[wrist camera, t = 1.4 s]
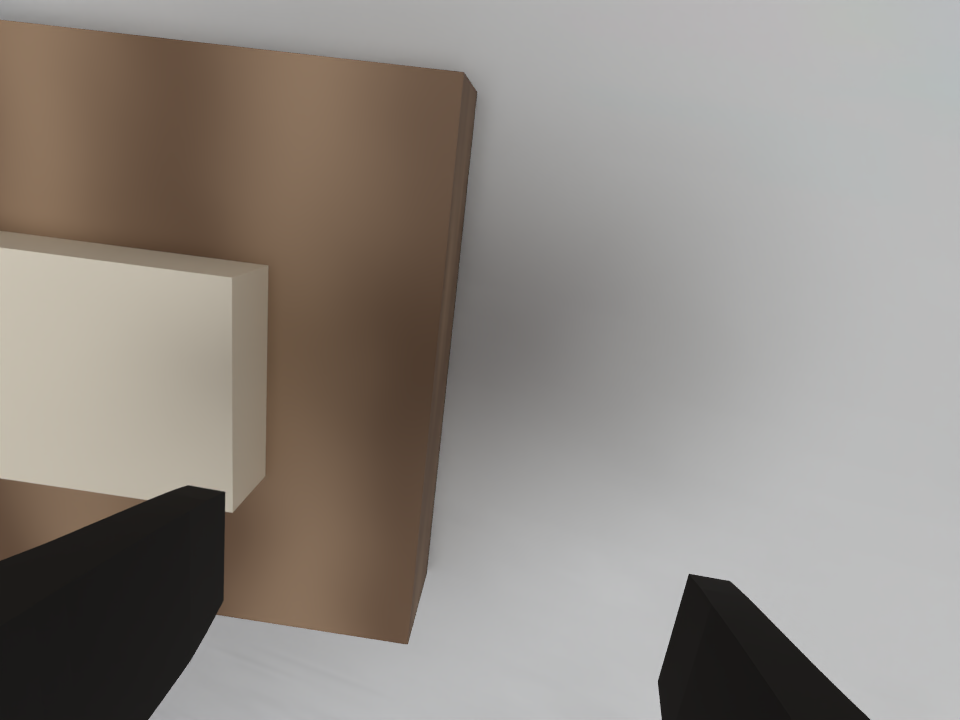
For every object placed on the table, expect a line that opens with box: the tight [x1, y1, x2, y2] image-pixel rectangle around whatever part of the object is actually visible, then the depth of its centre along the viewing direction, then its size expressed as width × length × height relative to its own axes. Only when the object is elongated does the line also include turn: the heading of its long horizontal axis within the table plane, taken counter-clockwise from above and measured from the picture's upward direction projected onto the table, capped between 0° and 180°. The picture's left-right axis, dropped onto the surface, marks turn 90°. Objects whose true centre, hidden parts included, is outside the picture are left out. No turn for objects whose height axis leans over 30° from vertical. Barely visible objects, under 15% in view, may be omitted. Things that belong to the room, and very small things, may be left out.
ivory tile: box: [0, 231, 268, 513], centre depth 16 cm, size 8×6×2 cm
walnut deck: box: [0, 20, 477, 644], centre depth 18 cm, size 14×16×4 cm
